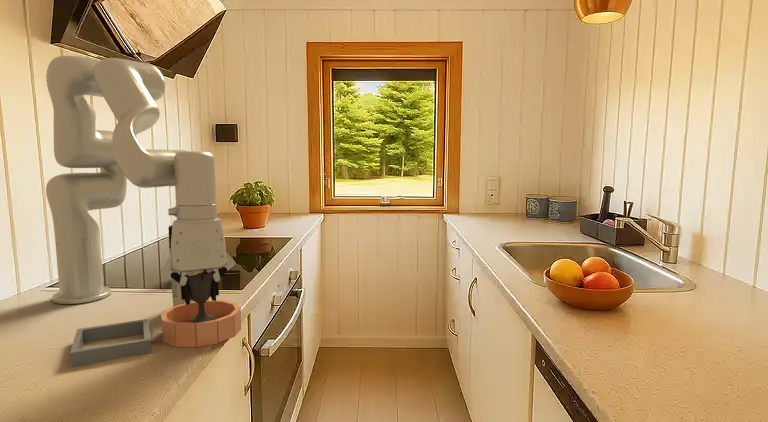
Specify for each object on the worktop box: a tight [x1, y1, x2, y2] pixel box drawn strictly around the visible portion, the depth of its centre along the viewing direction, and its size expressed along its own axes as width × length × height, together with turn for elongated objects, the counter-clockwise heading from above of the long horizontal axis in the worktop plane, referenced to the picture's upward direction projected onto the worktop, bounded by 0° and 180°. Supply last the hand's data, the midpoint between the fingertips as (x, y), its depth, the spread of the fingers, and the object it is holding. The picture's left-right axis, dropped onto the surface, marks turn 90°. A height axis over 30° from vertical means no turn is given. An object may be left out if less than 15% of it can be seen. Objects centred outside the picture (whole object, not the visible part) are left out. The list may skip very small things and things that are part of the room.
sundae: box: [184, 269, 216, 323], centre depth 96 cm, size 7×7×15 cm
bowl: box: [160, 299, 242, 348], centre depth 97 cm, size 15×15×4 cm
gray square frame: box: [69, 318, 152, 367], centre depth 90 cm, size 12×12×2 cm
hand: (200, 300), depth 97 cm, fingers closed on sundae, 4 cm apart
